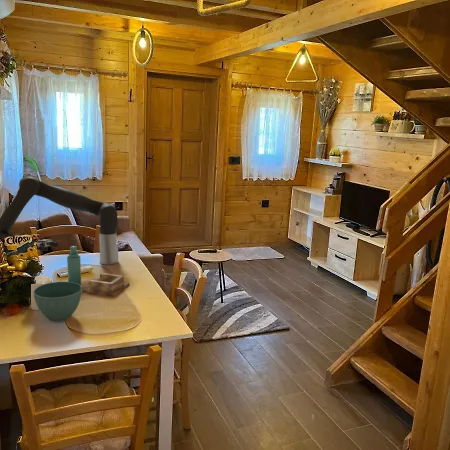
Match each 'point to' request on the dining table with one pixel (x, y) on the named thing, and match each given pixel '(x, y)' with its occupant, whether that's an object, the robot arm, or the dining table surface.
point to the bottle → (74, 266)
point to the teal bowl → (58, 299)
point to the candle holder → (39, 281)
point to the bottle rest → (107, 285)
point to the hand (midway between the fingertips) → (52, 246)
